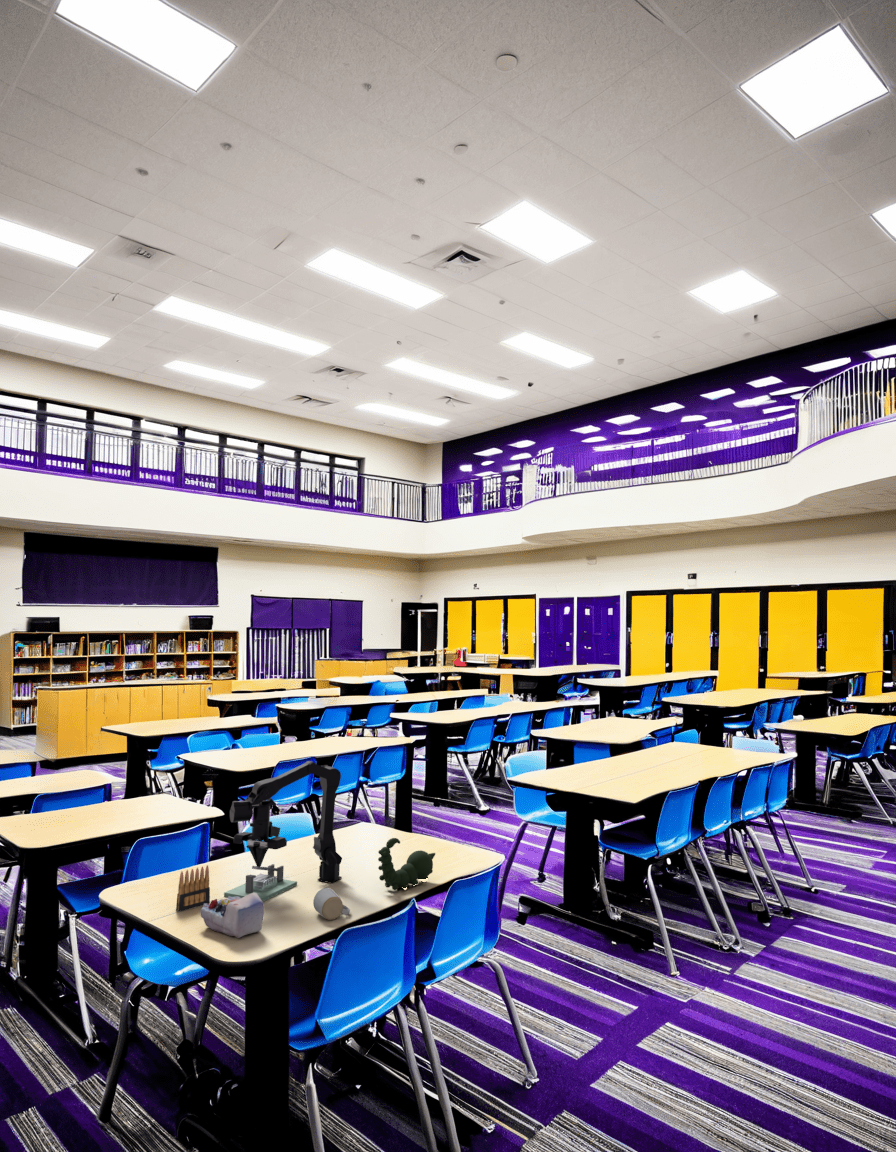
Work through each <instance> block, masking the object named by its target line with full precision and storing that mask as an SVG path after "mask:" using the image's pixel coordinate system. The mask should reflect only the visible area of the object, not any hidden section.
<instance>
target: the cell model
mask: <svg viewBox="0 0 896 1152" xmlns="http://www.w3.org/2000/svg"><path fill="white" fill-rule="evenodd" d="M201 907H202V908H200V917H201V918H202V919H203V922H204V924H205V926H206V927H207V928H209V929H210V930H212V931H214V932H218V933H223V934H224V935H227V936H229V937H232V936H234V937H235V938H238V939H240V938H242V937H244V936H246V935H249V934H255V933H258V932H261V930H262V928H263V923H264V922H263V921H264V916H265V906H264V901H263V902H262V900H261V899H260V898H259V896H258V894H257V893H251V894H248V895H246V896H245V897H243V898H240V897H238V896H235V897H230V896H229V897H226V898H221V899H219V900H218V899H217V898H214V899H212V900H210V903H209V904H206V903H204V905H202V906H201Z"/></svg>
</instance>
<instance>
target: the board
mask: <svg viewBox="0 0 896 1152" xmlns="http://www.w3.org/2000/svg"><path fill="white" fill-rule="evenodd" d="M295 885H296V886H298V881H295V880H290V879H285V878H283V881H281V882H279V883H278V882H277V885H276V886H274V887H272V888H269V889H267V890H265V891H263V892H260V891H255V890H253V893H257V894H258V896H259V898H260V899H261V900H262V902H263V903H264V902H265V901H267V900H269V899H271V898H273V897H275V896H277V895H279V894H281V893H284V892H286V891H287V889H288V890H289V888H290V889H292V888H294V887H296V886H295ZM293 886H294V887H293ZM245 887H246V882H245V883H243V884H241V885H238V886H236V887H234V888H231V889H229V890H226V891H224V892H223V896H224V897H226V898H228V897H229V896H230V897H235V896H238V897H240V898H243V897H245V896H246V895H248V894H251V893H246V892H245ZM283 891H284V892H283Z"/></svg>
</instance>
